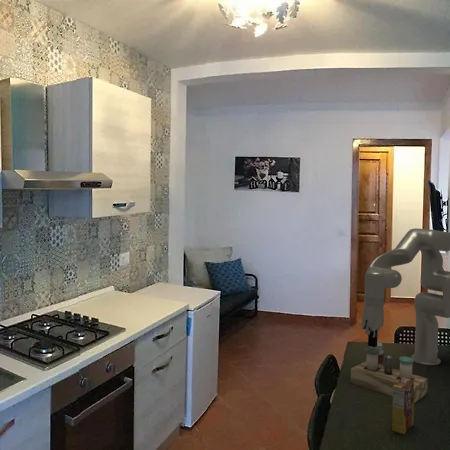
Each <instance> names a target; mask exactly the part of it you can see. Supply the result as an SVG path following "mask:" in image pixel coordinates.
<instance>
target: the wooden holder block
mask: <svg viewBox="0 0 450 450" xmlns="http://www.w3.org/2000/svg"><path fill="white" fill-rule="evenodd" d="M366 362H367V360H365V361H363V362H362V363H360V364H357V365H355V366H353V367H351V368H350V384H353V385H356V386H359V387H362V388H365V389H368V390H371V391H373V392H374V391H375V392H377V393H380V394H384V395H387V396H390V397H392V398H393V386H394V385H395V384H396V383H397V382H398V381H400V379H399V377H400V369H395V368H393V369H392V375H387V374H385V373H384V368H385V365H383V366H382V365H378V370H377V371H369V370H367V369H366ZM412 380H413V381H414V404H415V403H416V402H418V401H419V400H420V399H422V398H423V397H425V396H426V395H427V394H428V378H426V377H423V376H420V375H416V374H413V373H412Z"/></svg>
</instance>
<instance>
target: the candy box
mask: <svg viewBox="0 0 450 450" xmlns="http://www.w3.org/2000/svg"><path fill="white" fill-rule="evenodd" d="M414 404H415V403H414V381H413V380H410V379H405V378H402V379H401V380H400V381H398V382H397V383H396V384H395V385H394V386H393V397H392V415H391V416H392V422H391V425H392V426H391V427H392V428H391V430H392V432H395V433H399V434H401V435H405V434H406V433H407V432H408V431H409V430H410V428H411V427H412V426H413V425H414V407H415V405H414Z"/></svg>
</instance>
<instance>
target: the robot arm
mask: <svg viewBox="0 0 450 450" xmlns="http://www.w3.org/2000/svg"><path fill="white" fill-rule="evenodd" d="M419 252H420V253H421V255H422V264H421V274H420V286H421V287H422V288H423V289H426V290H430V291H434V292H439V293H442V294H437V293H433V292H427V291H421V292H418V293H417V294H416V295H415V296H414V301H413V302H414V303H413V304H414V310H415V333H414V336H415V339H414V353H413V354H412V355H410V358H413V359H414V362H413V363H416V364H420V365H424V366H438V365H440V364H441V362H442V361H441V359H440V358H439V357H438V353H439V349H438V346H439V345H438V343H439V340H438V339H439V321H438V319H437V317H440V318H443V319H444V318H445V319H448V318H450V271H449V270H443V266H444V257H443V256H442V253H441V252H450V231H442V230H438V229H437V230H436V229H429V228H428V229H427V228H411V229H409V230H408V231H407V232H406V233H405V234H404V236H403V237H402V239H401V240H400V241H399V242H398V244H397V245H396V247H395V248H394V249H391V250H389V251H386V252H385V253H383V254H381V255H379V256H377V257H376V258H374V259H373V261H372V262H371V264H370V265H369V266H368V268H367V269H366V272H365V275H364V277H365V278H364V303H363V304H364V306H363V308H362V315H361V316H362V317H361V329H362V330H365V331H364V334H366V335H367V345H368V347H370V346H371V347H377V342H378V337H379V331H381V329H382V328H383V327H384V322H385V321H384V318H385V317H384V316H385V315H384V307H385V289H394V288H397V287H399V286H400V284H401V283H402V275H401V273H400V272H399V271H397V270H396V269H391V268H392V267H398V266H403V265H407V264H410V263H411V262H412V261H413V260H414V258H415V257H416V256H417V255H418V253H419Z"/></svg>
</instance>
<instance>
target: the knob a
mask: <svg viewBox="0 0 450 450" xmlns="http://www.w3.org/2000/svg"><path fill="white" fill-rule="evenodd" d="M365 353H366V361H367V362H366V369H367V370H369V371H377V370H378V354H379V349H376V348H370V347H366V348H365Z"/></svg>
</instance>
